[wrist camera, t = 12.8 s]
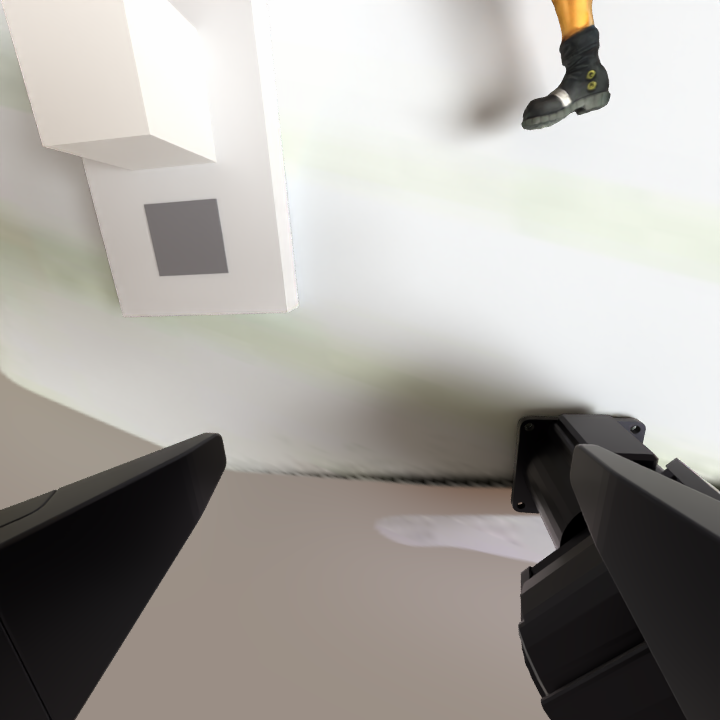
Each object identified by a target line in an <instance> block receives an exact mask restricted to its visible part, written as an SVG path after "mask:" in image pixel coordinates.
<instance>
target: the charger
mask: <svg viewBox="0 0 720 720" xmlns="http://www.w3.org/2000/svg"><path fill="white" fill-rule="evenodd" d="M1 3H2V6H3V10H4V13H5V17H6V20H7V24H8V27H9V30H10V34H11V37H12V41H13V44H14V48H15V51H16V55H17V58H18V62H19V65H20V69H21V72H22V76H23V79H24V83H25V86H26V90H27V93H28V97H29V100H30V104H31V107H32V111H33V114H34V118H35V121H36V125H37V128H38V132H39V135H40V139H41V142H42V146H43V147H46V148H50V149H54V150H58V151H61V152H65V153H69V154H72V155H76V156H80V157H84V158H87V159H91V160H95V161H99V162H102V163H106V164H110V165H114V166H117V167H121V168H125V169H129V170H132V171H133V170H143V169H154V168H164V167H174V166H185V165H195V164H206V163H216V162H217V161H216V155H215V148H214V142H213V135H212V129H211V122H210V116H209V109H208V103H207V96H206V90H205V84H204V77H203V71H202V64H201V58H200V51H199V45H198V38H197V32H196V28H195V27H194V26H193V25H192V24H190V23H189V22H188V21H187V20H186V19H185V18H184V17H183V16H182V15H181V14H180V13H179V12H178V11H177V10H176V9H175V8H174V7H173V6H172V5H171V4H170V3H169V2H168V1H167V0H1Z"/></svg>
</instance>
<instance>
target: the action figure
mask: <svg viewBox="0 0 720 720" xmlns="http://www.w3.org/2000/svg"><path fill="white" fill-rule="evenodd" d="M592 1H593V0H552V3H553V4H554V7H555V11H556V14H557V16H558V19H559V23H560V27H561V31H562V42H561V45H560V49H559V51H560V53H561V59H562V65H563V66H565V67H566V74H565V76H564V78H563V80H562V82H561V84H560V85H559V86H558V88H557V89H555V90H554V91H553V92H551V93H550V94H549V95H548V96H546V97H543V98H537V99H534V100H532V101H531V102H530V103H529V104H528V106H527V108H526V109H525V111H524V114H523V122H522V127H523V128H524V129H527V130H534V129H541V128H544V127H549V126H552V125H553V124H555V123H557V122H559V121H560V120H562V119H563V118H565V117H566V116H567V115H569V114H570V113H572V112H574V111H575V112H576V113H577V115H581V114H584V113H588V112H590V111H593V110H598V109H600V108H602V107H604V106H606V105H607V104H608V102H609V99H610V93H609V91H608V88H609V79H608V75H607V71H606V70H605V68H604V66H602V65H601V63H600V60H599V57H598V49H599V46H600V44H599V31H598V29H597V28H596V27H595V26H594V20H593V15H592Z"/></svg>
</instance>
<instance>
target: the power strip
mask: <svg viewBox="0 0 720 720" xmlns="http://www.w3.org/2000/svg"><path fill="white" fill-rule="evenodd" d="M167 1H168V2H169V3H170V4H171V5H172V6H173V7H174V8H175V9H176V10H177V11H178V12H179V13H180V14H181V15H182V16H183V17H184V18H185V19H186V20H187V21H188V22H189V23H190V24H192V25H193V26H194V27H195V28H196V32H197V38H198V45H199V51H200V58H201V64H202V71H203V77H204V84H205V90H206V96H207V103H208V109H209V116H210V122H211V129H212V135H213V142H214V148H215V155H216V161H217V162H216V163H206V164H195V165H185V166H174V167H164V168H154V169H143V170H133V171H132V170H129V169H125V168H121V167H117V166H114V165H110V164H106V163H102V162H99V161H95V160H91V159H87V158H84V157H81V158H82V162H83V165H84V169H85V173H86V177H87V181H88V185H89V188H90V192H91V196H92V200H93V204H94V207H95V211H96V215H97V219H98V223H99V227H100V230H101V234H102V238H103V242H104V246H105V249H106V253H107V257H108V261H109V265H110V269H111V272H112V276H113V280H114V284H115V288H116V291H117V295H118V299H119V303H120V307H121V310H122V314H123V317H144V316H181V315H219V314H256V313H288V312H290V311H292V310H293V309H295V308H297V307H299V301H298V292H297V282H296V273H295V263H294V254H293V244H292V235H291V225H290V216H289V207H288V197H287V188H286V178H285V169H284V159H283V150H282V140H281V131H280V121H279V112H278V103H277V93H276V84H275V74H274V65H273V55H272V46H271V36H270V27H269V17H268V8H267V0H167Z"/></svg>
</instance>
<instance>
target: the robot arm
mask: <svg viewBox="0 0 720 720" xmlns="http://www.w3.org/2000/svg"><path fill="white" fill-rule="evenodd" d="M528 423H531V424H532V425H531V426H530V427H528V428H526V427H525V425H526V424H528ZM633 426H636V428H635V429H634V430H630V429H631V427H633ZM645 430H646V427H645V425H644V424H643V423H642V422H640V421H639V420H637V419H634V418H612V417H611V416H610V415H587V414H562V415H560V416H558V417H547V416H526V417H523V418H521V419H520V420H519V423H518V432H517V443H516V453H515V464H514V474H513V485H512V495H511V504H512V506H513V508H514V510H516V511H518V512H525V513H540V515H541V517H542V520H543V522H544V524H545V526H546V528H547V530H548V533H549V535H550V537H551V539H552V541H553V543H554V545H555V548H556V550H555V551H554V552H553V553H551V554H550V555H549V556H547V557H546V558H545V559H543V560H542V561H540V562H539V563H538V564H536V565H535V566H534V567H528V568H527V569H525V570H524V571H523V572H521V594H520V597H521V622H520V623H519V625H518V628H519V636H520V639H521V643H522V650H523V654H524V659H525V663H526V666H527V668H528V670H529V672H530V675H531V677H532V679H533V681H534V683H535V685H536V687H537V689H538V691H539V693H540V695H541V697H542V699H541V704H542V707H543V709H544V711H545V712H546V714H547V715H548V717H549V718H550V719H551V720H720V491H719V490H718V489H716V488H715V487H714V486H713V485H711V484H710V483H709V482H707V481H706V480H705V479H703V478H702V477H701V476H700V475H698V474H697V473H696V472H694V471H693V470H692V469H690V468H689V467H688V466H687V465H685V464H684V463H683V462H681V461H680V460H679V459H677V458H675V459H674V460H673V461H671V462H670V463H669V464H667V465H666V467H667V469H666V470H663V469H662V468H661V467H660V466H659V465H658V464H657V463H658V457H657V456H656V455H655V454H654V453H653V452H651V451H650V450H649V449H648V448H647V447H646V446H645V445H643V439H644V435H645ZM225 467H226V455H225V450H224V445H223V440H222V437H221V435H220V434H218V433H203V434H201V435H198V436H195V437H193V438H190V439H187V440H185V441H182V442H180V443H177V444H174V445H172V446H169V447H166V448H164V449H161V450H158V451H156V452H153V453H151V454H148V455H145V456H143V457H140V458H137V459H135V460H132V461H130V462H127V463H124V464H122V465H119V466H116V467H114V468H111V469H109V470H106V471H103V472H101V473H98V474H95V475H93V476H90V477H87V478H85V479H82V480H80V481H77V482H74V483H72V484H69V485H66V486H64V487H61V488H59V489H58V490H53V491H51V492H48V493H45V494H43V495H40V496H37V497H35V498H32V499H29V500H27V501H24V502H21V503H18V504H16V505H13V506H10V507H8V508H5V509H2V510H0V720H75V719H76V718H77V716H78V714H79V713H80V711H81V709H82V708H83V706H84V705H85V703H86V701H87V700H88V698H89V697H90V695H91V693H92V692H93V690H94V688H95V687H96V685H97V684H98V682H99V681H100V679H101V677H102V676H103V674H104V672H105V671H106V669H107V668H108V666H109V664H110V663H111V661H112V660H113V658H114V656H115V654H116V653H117V652H118V650H119V648H120V647H121V645H122V643H123V642H124V640H125V639H126V637H127V635H128V634H129V632H130V631H131V629H132V627H133V626H134V624H135V622H136V621H137V619H138V618H139V616H140V614H141V613H142V611H143V610H144V608H145V606H146V605H147V603H148V602H149V600H150V598H151V597H152V595H153V593H154V592H155V590H156V589H157V587H158V586H159V584H160V582H161V580H162V579H163V577H164V576H165V574H166V573H167V571H168V569H169V568H170V566H171V565H172V563H173V561H174V560H175V558H176V556H177V555H178V553H179V551H180V550H181V549H182V547H183V545H184V544H185V542H186V540H187V539H188V537H189V536H190V534H191V532H192V531H193V529H194V528H195V526H196V524H197V523H198V521H199V519H200V518H201V516H202V514H203V512H204V510H205V508H206V506H207V504H208V502H209V500H210V498H211V496H212V494H213V492H214V490H215V488H216V486H217V484H218V482H219V480H220V478H221V475H222V474H223V472H224V470H225ZM520 502H522V504H520V505H518V503H520Z"/></svg>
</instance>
